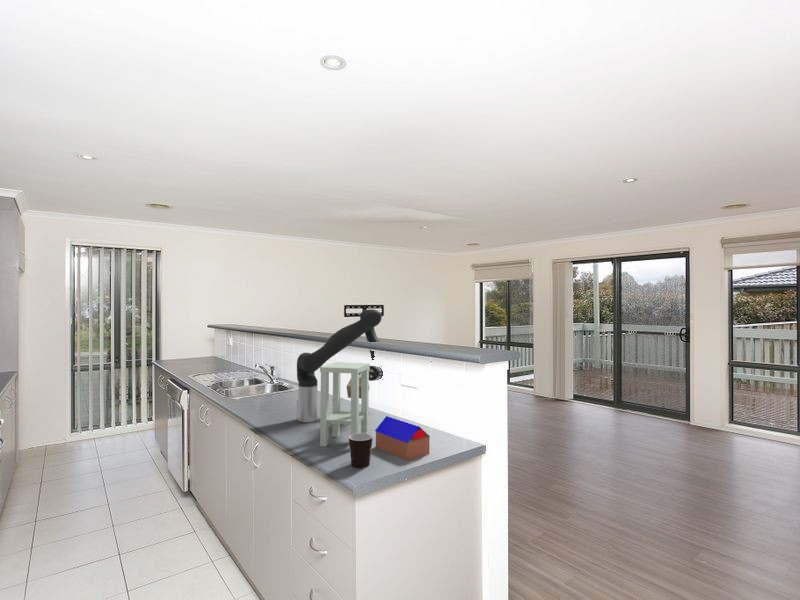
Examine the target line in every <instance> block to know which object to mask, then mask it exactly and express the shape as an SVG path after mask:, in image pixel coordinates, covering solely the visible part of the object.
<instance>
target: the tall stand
mask: <svg viewBox="0 0 800 600" xmlns="http://www.w3.org/2000/svg"><path fill="white" fill-rule="evenodd" d="M370 366H371V365H370V363H369V362H368V363H364V362H346V361H345V362H344V361H343V362H342V361H341V362H340V361H334V362H331V363H329V364H325V365H322V366H321V367H320V368H319V372H320V401H319V402H320V411H319V414H320V416H319V417H320V418H319V419H320V422H319V423H320V424H319V425H320V427H319V428H320V429H319V430H320V431H319V433H320V434H319V437H320V438H319V440H320V441H319V446H320V447H322V446H325V447H324V448H326V447H328V446H329V424H331V425H332V437H333V438H339V437H340V436H341V425H345V426H346V425H347V426H350V435H352V434H357V433H366V434H369V414H370V413H369V405H370V404H369V401H370V400H369V397H370V394H369V392H370V383H369V382H370V381H369V368H370ZM360 372H361V398H359V373H360ZM331 373H332V413H330V412H329V409H330V408H329V406H330V405H329V404H330V403H329V401H330V397H329V396H330V389H329V388H330V374H331ZM341 374H350V379H351V398H350V411H342V410H341ZM360 401H361V402H360ZM360 404H361V405H360ZM360 408H361V409H360ZM360 411H361V412H360ZM329 413H330V414H329ZM359 423H360V425H359ZM359 427H360V428H359ZM327 445H328V446H327Z"/></svg>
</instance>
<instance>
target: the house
mask: <svg viewBox="0 0 800 600" xmlns="http://www.w3.org/2000/svg"><path fill="white" fill-rule="evenodd" d="M374 431H375V448H377V447H378V449H379V450H382V449H383V450H382V451H384V450H385V451H384V452H387V453H389V454H391V455H394V456H397V457H398V458H401V459H403V460H405V461H410V460H413V459H416V458H420V457H423V456H425V455H426V454H427V455H430V437H431V435H429V434H428V433H427V432H426V431H425V430H424V429H423V428H421V427H420V426H419V425H415V424H413V423H409V422H406V421H403V420H400V419H397V418H393V417H390V416H385V418H383V420H382V421H381V422H380V423H379V425H378V426H377V427H376V429H375V430H374ZM427 455H426V456H427Z"/></svg>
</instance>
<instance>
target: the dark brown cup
mask: <svg viewBox="0 0 800 600" xmlns="http://www.w3.org/2000/svg"><path fill="white" fill-rule="evenodd" d="M373 438H374V437H373V434H369V433H368V434H366V433H361V432H359V433H357V434H352V435H351V434H350V435H349V436H348V445H349V453H350V455H349V456H350V463H351V467H352V466H353V467H352V468H354V467H356V468H355V469H365V468H364V467H366V468H368V467H369V466H370V462H371V455H372V446H373Z"/></svg>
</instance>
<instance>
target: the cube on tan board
mask: <svg viewBox="0 0 800 600" xmlns="http://www.w3.org/2000/svg"><path fill="white" fill-rule="evenodd" d="M369 371H370V368H369ZM346 393H347V398H348V399H351V378H350V380H349V381H348V382H347V385H346ZM359 399H361V374H360V376H359Z"/></svg>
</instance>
